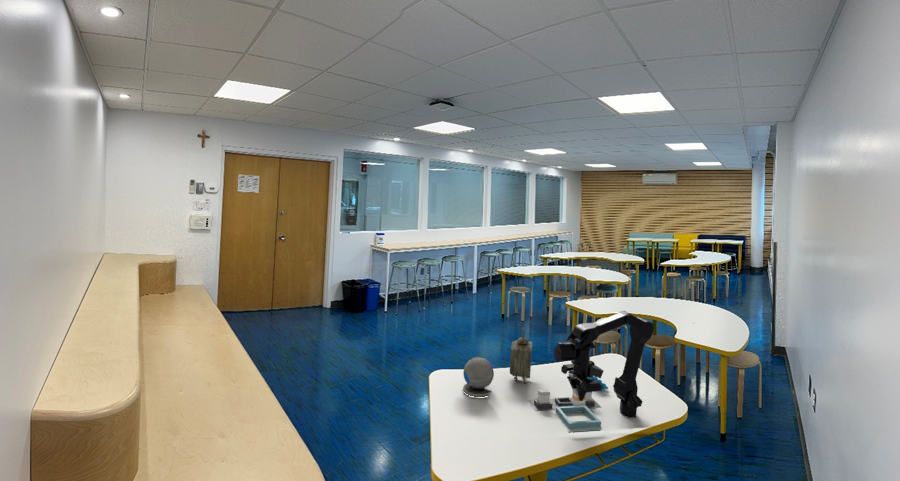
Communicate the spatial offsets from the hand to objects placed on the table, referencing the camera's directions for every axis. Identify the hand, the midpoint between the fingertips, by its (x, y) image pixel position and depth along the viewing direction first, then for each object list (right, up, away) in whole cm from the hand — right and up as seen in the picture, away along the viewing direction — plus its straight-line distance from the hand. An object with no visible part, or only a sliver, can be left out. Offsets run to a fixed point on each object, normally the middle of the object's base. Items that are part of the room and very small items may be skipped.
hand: (579, 398), depth 166 cm
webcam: (-37, -6, +24) cm, 44 cm away
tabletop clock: (-17, -5, +37) cm, 41 cm away
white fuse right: (+7, -7, +14) cm, 17 cm away
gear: (+16, -7, +30) cm, 35 cm away
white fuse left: (-11, -6, +11) cm, 17 cm away
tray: (0, -9, +1) cm, 10 cm away
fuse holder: (-2, -8, +13) cm, 15 cm away
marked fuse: (0, -2, 0) cm, 2 cm away
